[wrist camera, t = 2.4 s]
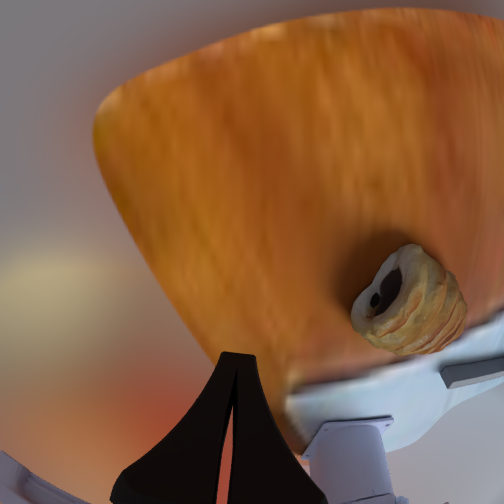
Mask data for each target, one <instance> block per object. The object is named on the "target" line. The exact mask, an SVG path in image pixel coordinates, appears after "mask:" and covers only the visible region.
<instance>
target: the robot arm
mask: <svg viewBox="0 0 504 504" xmlns="http://www.w3.org/2000/svg"><path fill="white" fill-rule="evenodd" d="M232 406H233V451H232V464H231V473H230V481H229V491H228V501H227V504H409V500H408V498H405V497H403V496H399V497H397V498H396V496H395V495H394V493H393V488H392V483H391V478H390V473H389V469H388V464H387V459H386V455H385V450H384V446H383V442H382V438H381V435H382V434H383V433H384V432H385V431H386V430H387V429H388V427H389V426H390V425H391V424H392V423H393V422H394V419H393V418H392V417H391V418H382V419H373V420H361V421H346V422H327V423H324V424H323V425H322V426H321V428H320V429H319V431H318V433H317V434H316V436H315V437H314V439H313V440H312V442H311V443H310V444H309V446H308V447H307V449H306V450H305V452H304V453H303V455H302V456H301V459H302V460H309V466H310V477H309V475H308V474H307V473H306V472H305V470H304V469H303V468H302V466H301V465H300V463H299V462H298V460H297V459H296V458H295V456H294V455H293V453H292V452H291V450H290V449H289V447H288V445H287V443H286V442H285V440H284V438H283V436H282V435H281V433H280V431H279V429H278V427H277V425H276V423H275V420H274V418H273V416H272V414H271V411H270V409H269V406H268V404H267V401H266V398H265V395H264V392H263V389H262V386H261V382H260V378H259V374H258V369H257V362H256V357H255V356H254V355H250V354H241V353H233V352H225V351H224V352H222V353H221V355H220V358H219V360H218V363H217V365H216V367H215V370H214V372H213V373H212V375H211V377H210V379H209V381H208V382H207V384H206V386H205V387H204V389H203V391H202V392H201V394H200V395H199V397H198V398H197V399H196V401H195V402H194V404H193V405H192V407H191V408H190V409H189V410H188V412H187V413H186V414H185V416H184V417H183V418H182V419H181V420H180V421H179V423H178V424H177V425H176V426H175V427H174V428H173V429H172V430H171V431H170V432H169V433H168V434H167V435H166V436H165V437H164V438H163V439H162V440H161V441H160V442H159V443H158V444H157V445H156V446H154V447H153V448H152V449H151V450H150V451H149V452H148V453H146V454H145V455H144V456H142V457H141V458H140V459H138V460H137V461H136V462H134V463H133V464H131V465H130V466H128V467H127V468H126V469H124V470H123V471H122V472H121V474H120V475H119V477H118V478H117V480H116V482H115V484H114V486H113V489H112V492H111V496H110V501H111V502H112V503H113V504H216V500H217V492H218V483H219V474H220V466H221V458H222V451H223V446H224V442H225V437H226V433H227V428H228V424H229V419H230V414H231V410H232ZM0 501H1V502H2V503H3V504H90V503H88V502H85V501H84V500H81V499H79V498H77V497H75V496H73V495H71V494H69V493H67V492H65V491H63V490H61V489H59V488H57V487H56V486H54V485H52V484H50V483H49V482H47V481H45V480H43V479H42V478H40V477H38V476H37V475H35V474H33V473H32V472H30V471H29V470H28V469H27V468H26V467H25V466H23V465H22V464H20V463H19V462H18V461H16V460H15V459H13V458H12V457H11V456H9V455H8V454H6V453H5V452H4V451H0ZM444 504H449V503H448V502H446V503H444Z"/></svg>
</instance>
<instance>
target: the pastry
mask: <svg viewBox="0 0 504 504" xmlns="http://www.w3.org/2000/svg"><path fill="white" fill-rule="evenodd" d="M466 313H467V304H466V302H465V301H464V298H463V295H462V293H461V292H460V290H459V285H458V283H457V281H456V278H455V275H454V274H452V273H451V272H450V271H446V270H445V269H444V268H443V267H442V266H441V265H440V264H439V263H438V262H437V261H435V260H434V259H433V258H431V257H430V256H429V255H427V254H426V253H425V252H424V251H423V250H422V248H421V246H420V245H416V244H408V245H405V246H402V247H400V248H399V249H398V250H397V252H395V253H392V254H391V255H390V256H389V257H388V258H387V259H386V260H385V261H384V263H383V264H382V265H381V268H380V269H379V271H378V272H377V274H376V276H375V278H374V280H373V282H372V284H371V285H370V286H369V287H367V288H366V289H365V290H364V291H363V292H362V293H361V294H360V295H359V296H358V298H357V299H356V300H355V301H354V303H353V307H352V311H351V323H352V327H353V329H354V331H356V332H359V333H360V334H361V336H362V337H363V338H365V339H366V340H368V341H369V342H370V343H371V344H372V345H373V346H374V347H376V348H381V349H385V350H388V351H389V352H392V353H394V354H398V355H401V356H402V355H408V354H421V355H426V354H431V353H435V352H440V351H441V350H443V349H444V348H445V347H446V346H447V345H449V344H450V343H451V342H452V341H453V340H455V339H457V338H458V337H459V336H460V334H461V333H462V332H463V329H464V327H465V324H466V319H467V315H466Z"/></svg>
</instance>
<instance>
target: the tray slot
mask: <svg viewBox="0 0 504 504" xmlns="http://www.w3.org/2000/svg"><path fill="white" fill-rule="evenodd" d="M440 375H441V377H442V379H443V381H444V383H445V385H446V387H447V389H452V388H457V387H462V386H467V385H471V384H476V383H480V382H484V381H488V380H491V379H495V378H499V377H502V376H504V357H502V358H497V359H492V360H486V361H481V362H475V363H469V364H462V365H455V366H447V367H445V368H444V369H443V371H442V372H441V373H440Z"/></svg>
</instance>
